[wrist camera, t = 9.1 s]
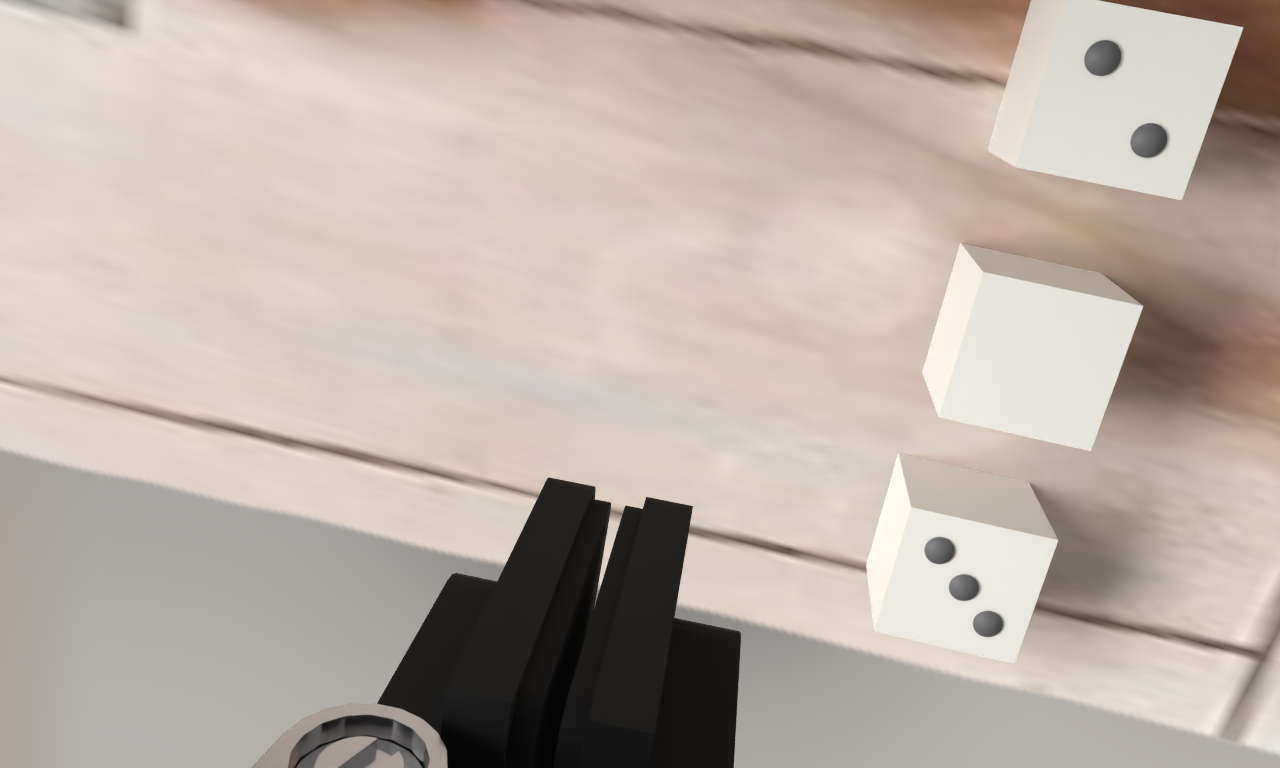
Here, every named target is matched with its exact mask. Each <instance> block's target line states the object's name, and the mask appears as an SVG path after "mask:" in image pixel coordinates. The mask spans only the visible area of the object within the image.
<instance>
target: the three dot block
mask: <svg viewBox="0 0 1280 768" xmlns="http://www.w3.org/2000/svg"><path fill="white" fill-rule="evenodd" d="M1057 543H1058V539H1057V537H1056V535H1055V533H1054V531H1053V529H1052V527H1051V525H1050V523H1049V521H1048V519H1047V517H1046V515H1045V513H1044V511H1043V509H1042V507H1041V505H1040V503H1039V501H1038V499H1037V497H1036V495H1035V493H1034V492H1033V490H1032V488H1031V486H1030V484H1029V482H1027V481H1023V480H1018V479H1014V478H1009V477H1005V476H1000V475H996V474H991V473H987V472H982V471H977V470H973V469H968V468H964V467H959V466H955V465H950V464H946V463H941V462H937V461H932V460H928V459H923V458H919V457H914V456H910V455H905V454H900V453H898V456H897V460H896V463H895V467H894V470H893V474H892V477H891V481H890V484H889V488H888V491H887V495H886V498H885V502H884V505H883V509H882V512H881V516H880V519H879V523H878V526H877V530H876V533H875V537H874V540H873V544H872V547H871V551H870V554H869V558H868V561H867V565H866V568H867V576H868V584H869V592H870V601H871V609H872V617H873V625H874V631H876V632H880V633H884V634H888V635H893V636H897V637H901V638H905V639H910V640H914V641H918V642H922V643H927V644H931V645H935V646H939V647H944V648H948V649H952V650H956V651H961V652H965V653H969V654H973V655H978V656H982V657H986V658H990V659H995V660H999V661H1003V662H1007V663H1012V664H1015V661H1016V658H1017V656H1018V653H1019V650H1020V647H1021V644H1022V642H1023V639H1024V636H1025V633H1026V630H1027V627H1028V625H1029V622H1030V619H1031V616H1032V613H1033V610H1034V608H1035V605H1036V602H1037V599H1038V596H1039V594H1040V591H1041V588H1042V585H1043V582H1044V579H1045V577H1046V574H1047V571H1048V568H1049V565H1050V563H1051V560H1052V557H1053V554H1054V551H1055V548H1056V546H1057Z"/></svg>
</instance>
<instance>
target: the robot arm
mask: <svg viewBox="0 0 1280 768" xmlns="http://www.w3.org/2000/svg"><path fill="white" fill-rule="evenodd" d="M692 508H693V506H689V505H684V504H679V503H674V502H669V501H664V500H659V499H654V498H649V497H646V500H645V504H644V507H643V509H640V508H635V507H630V506H625V508H624V512H623V515H622V518H621V522H620V525H619V528H618V531H617V535H616V538H615V541H614V545H613V548H612V551H611V555H610V558H609V561H608V565H607V568H606V571H605V574H604V578H603V581H602V584H601V588H600V591H599V594H598V598H597V601H596V604H595V600H596V594H597V588H598V582H599V576H600V570H601V564H602V558H603V552H604V546H605V540H606V534H607V528H608V522H609V516H610V509H611V503H610V502H605V501H600V500H595V487H594V486H589V485H584V484H579V483H574V482H568V481H563V480H558V479H553V478H548V479H547V480H546V482H545V485H544V487H543V489H542V491H541V493H540V495H539V497H538V499H537V501H536V503H535V505H534V507H533V509H532V511H531V513H530V515H529V518H528V520H527V522H526V524H525V526H524V528H523V530H522V532H521V534H520V536H519V538H518V540H517V542H516V544H515V546H514V549H513V551H512V553H511V555H510V557H509V559H508V561H507V563H506V565H505V567H504V569H503V571H502V573H501V575H500V577H499V580H498V582H497V581H492V580H487V579H482V578H477V577H473V576H467V575H463V574H458V573H455V574H452V575H451V577H450V578H449V579H448V581H447V582H446V584H445V586H444V588H443V589H442V591H441V593H440V595H439V597H438V598H437V600H436V602H435V604H434V605H433V607H432V609H431V610H430V612H429V614H428V616H427V617H426V619H425V621H424V623H423V624H422V626H421V628H420V630H419V632H418V633H417V635H416V637H415V638H414V640H413V642H412V643H411V645H410V647H409V649H408V651H407V652H406V654H405V656H404V657H403V659H402V661H401V663H400V664H399V666H398V668H397V670H396V671H395V673H394V675H393V677H392V679H391V680H390V682H389V684H388V685H387V687H386V689H385V691H384V693H383V694H382V696H381V698H380V699H379V701H378V703H377V704H347V705H343V706H337V707H333V708H328V709H324V710H322V711H320V712H317V713H315V714H313V715H310V716H308V717H306V718H304V719H302V720H300V721H299V722H298V723H296V724H295V725H294V726H293V727H291V728H290V729H289V730H287V731H286V732H285V733H284V734H283V735H282V736H281V737H280V738H279V739H278V740H277V741H276V742H275V743H274V744H273V745H272V746H271V747H270V748H269V749H268V750H267V752H266V753H265V754H264V755H263V756H262V757H261V758H260V759H259V760H258V761H257V762H256V763H255V764H254V765H253V766H252V768H734V750H735V732H736V715H737V697H738V680H739V662H740V661H739V660H740V643H741V634H740V632H739V631H735V630H730V629H725V628H720V627H715V626H711V625H706V624H700V623H696V622H691V621H686V620H681V619H677V618H674V616H675V610H676V604H677V598H678V592H679V586H680V580H681V574H682V568H683V562H684V556H685V550H686V544H687V538H688V532H689V526H690V520H691V514H692ZM594 606H595V608H594Z"/></svg>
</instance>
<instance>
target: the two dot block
mask: <svg viewBox="0 0 1280 768" xmlns="http://www.w3.org/2000/svg"><path fill="white" fill-rule="evenodd" d="M1242 30H1243V27H1239V26H1233V25H1228V24H1223V23H1217V22H1212V21H1206V20H1201V19H1196V18H1190V17H1185V16H1180V15H1174V14H1169V13H1163V12H1158V11H1153V10H1147V9H1142V8H1136V7H1131V6H1126V5H1120V4H1115V3H1110V2H1104V1H1099V0H1031V2H1030V6H1029V9H1028V13H1027V16H1026V20H1025V23H1024V27H1023V30H1022V34H1021V37H1020V41H1019V44H1018V47H1017V51H1016V54H1015V58H1014V61H1013V65H1012V68H1011V72H1010V75H1009V79H1008V82H1007V85H1006V89H1005V92H1004V96H1003V99H1002V103H1001V106H1000V110H999V113H998V117H997V120H996V124H995V127H994V130H993V134H992V137H991V141H990V144H989V148H988V151H989V152H991V153H992V154H994V155H996V156H997V157H999V158H1001V159H1002V160H1004V161H1006V162H1007V163H1009V164H1011V165H1012V166H1014V167H1017V168H1022V169H1027V170H1032V171H1037V172H1042V173H1047V174H1052V175H1057V176H1062V177H1067V178H1072V179H1077V180H1082V181H1087V182H1092V183H1097V184H1102V185H1107V186H1112V187H1117V188H1122V189H1127V190H1132V191H1137V192H1142V193H1147V194H1152V195H1157V196H1162V197H1167V198H1172V199H1177V200H1182V198H1183V195H1184V193H1185V190H1186V187H1187V184H1188V181H1189V179H1190V176H1191V173H1192V170H1193V167H1194V165H1195V162H1196V159H1197V156H1198V153H1199V151H1200V148H1201V145H1202V142H1203V139H1204V137H1205V134H1206V131H1207V128H1208V125H1209V123H1210V120H1211V117H1212V114H1213V111H1214V109H1215V106H1216V103H1217V100H1218V97H1219V95H1220V92H1221V89H1222V86H1223V83H1224V81H1225V78H1226V75H1227V72H1228V69H1229V67H1230V64H1231V61H1232V58H1233V55H1234V53H1235V50H1236V47H1237V44H1238V41H1239V39H1240V36H1241V33H1242Z"/></svg>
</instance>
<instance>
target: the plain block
mask: <svg viewBox="0 0 1280 768" xmlns="http://www.w3.org/2000/svg"><path fill="white" fill-rule="evenodd" d="M1142 309H1143V305H1141V304H1140V303H1139V302H1137V301H1136V300H1135V299H1134V298H1132V297H1131V296H1130V295H1129V294H1127V293H1126V292H1125V291H1123V290H1122V289H1121V288H1120V287H1118V286H1117V285H1116V284H1114V283H1113V282H1112V281H1111V280H1109V279H1108V278H1107V277H1105V276H1104V275H1103V274H1102V273H1100V272H1095V271H1090V270H1085V269H1081V268H1076V267H1071V266H1067V265H1062V264H1057V263H1052V262H1048V261H1043V260H1038V259H1033V258H1029V257H1024V256H1019V255H1015V254H1010V253H1005V252H1000V251H996V250H991V249H986V248H981V247H977V246H972V245H967V244H962V243H960V247H959V250H958V253H957V257H956V260H955V263H954V267H953V270H952V274H951V277H950V280H949V284H948V287H947V291H946V294H945V297H944V301H943V304H942V308H941V311H940V314H939V318H938V321H937V324H936V328H935V331H934V335H933V338H932V341H931V345H930V348H929V352H928V355H927V358H926V362H925V365H924V369H923V372H922V373H923V376H924V378H925V381H926V384H927V386H928V389H929V392H930V395H931V397H932V400H933V403H934V406H935V408H936V411H937V414H938V417H940V418H945V419H949V420H953V421H958V422H962V423H967V424H971V425H976V426H980V427H985V428H989V429H994V430H998V431H1002V432H1007V433H1011V434H1016V435H1020V436H1025V437H1029V438H1034V439H1038V440H1043V441H1047V442H1051V443H1056V444H1060V445H1065V446H1069V447H1074V448H1078V449H1083V450H1087V451H1091V449H1092V446H1093V444H1094V441H1095V438H1096V435H1097V433H1098V430H1099V427H1100V424H1101V422H1102V419H1103V416H1104V413H1105V411H1106V408H1107V405H1108V402H1109V400H1110V397H1111V394H1112V391H1113V389H1114V386H1115V383H1116V380H1117V378H1118V375H1119V372H1120V369H1121V366H1122V364H1123V361H1124V358H1125V355H1126V353H1127V350H1128V347H1129V344H1130V342H1131V339H1132V336H1133V333H1134V331H1135V328H1136V325H1137V322H1138V320H1139V317H1140V314H1141V311H1142Z"/></svg>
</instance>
